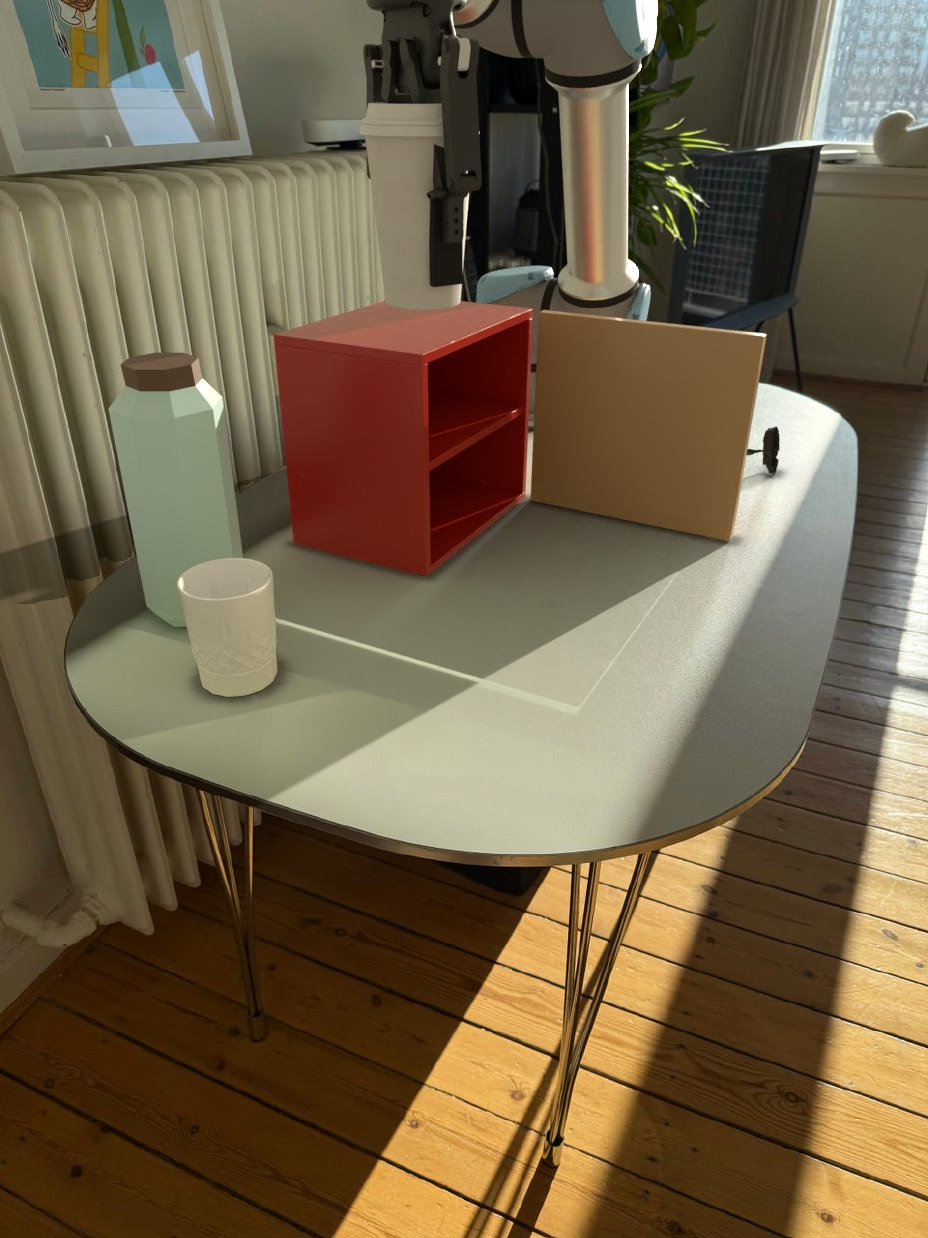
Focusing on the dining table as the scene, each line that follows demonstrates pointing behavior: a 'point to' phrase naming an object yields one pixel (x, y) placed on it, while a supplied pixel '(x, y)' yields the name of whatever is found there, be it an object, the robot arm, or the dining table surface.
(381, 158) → the coffee cup
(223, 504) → the water bottle
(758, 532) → the dining table surface
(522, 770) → the dining table surface
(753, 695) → the dining table surface
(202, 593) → the white cup
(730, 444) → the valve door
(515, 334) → the cabinet
